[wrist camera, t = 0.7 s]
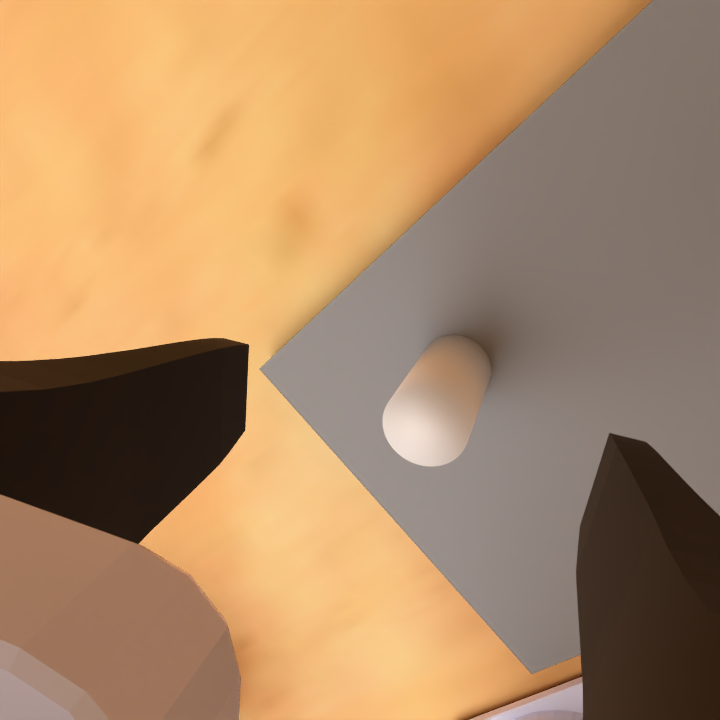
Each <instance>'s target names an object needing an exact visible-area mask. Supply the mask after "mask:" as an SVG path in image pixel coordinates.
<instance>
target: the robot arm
mask: <svg viewBox="0 0 720 720" xmlns="http://www.w3.org/2000/svg"><path fill="white" fill-rule="evenodd" d="M248 353H249V345H248V344H244V343H240V342H236V341H232V340H228V339H224V338H209V339H199V340H191V341H184V342H177V343H171V344H165V345H159V346H153V347H146V348H140V349H134V350H127V351H120V352H113V353H106V354H98V355H91V356H84V357H74V358H63V359H50V360H34V361H0V720H239V702H240V682H241V677H240V673H239V669H238V665H237V661H236V657H235V653H234V649H233V645H232V641H231V637H230V633H229V629H228V626H227V623H226V620H225V618H224V617H223V616H222V614H221V613H220V612H219V611H218V609H217V608H216V607H215V606H214V604H213V603H212V602H211V601H210V599H209V598H208V597H207V596H206V594H205V593H204V592H203V590H202V589H201V588H200V587H199V585H198V584H197V583H196V582H195V580H194V579H193V578H192V577H191V575H190V574H188V573H187V572H185V571H183V570H182V569H180V568H178V567H177V566H175V565H173V564H172V563H170V562H169V561H167V560H165V559H164V558H162V557H160V556H159V555H157V554H155V553H154V552H152V551H150V550H149V549H147V548H145V547H144V546H142V545H139V543H140V542H141V541H142V540H143V539H144V537H145V536H146V535H147V534H148V533H149V532H150V531H151V530H152V529H153V528H154V527H155V526H156V525H158V524H159V523H160V522H161V521H162V520H163V519H164V518H165V517H166V516H167V515H168V514H169V513H170V512H171V511H172V510H173V509H174V508H175V507H176V506H177V505H178V504H179V503H180V502H181V501H183V500H184V499H185V498H186V497H187V496H188V495H189V494H190V493H191V492H192V491H193V490H194V489H195V488H196V487H197V486H198V485H199V484H200V483H201V482H202V481H203V480H204V479H205V478H206V477H207V476H208V475H209V474H210V473H211V472H212V471H213V470H214V469H215V468H216V467H217V466H218V465H219V464H220V463H221V462H222V461H223V459H224V458H225V457H226V456H227V454H228V453H229V452H230V450H231V449H232V448H233V446H234V445H235V444H236V442H237V441H238V439H239V438H240V437H241V435H242V434H243V432H244V431H245V422H246V399H247V376H248ZM576 585H577V602H578V619H579V635H580V650H581V666H582V677H580V678H577V679H574V680H572V681H569V682H566V683H564V684H561V685H559V686H556V687H553V688H551V689H548V690H545V691H543V692H540V693H538V694H535V695H532V696H530V697H527V698H524V699H522V700H519V701H516V702H514V703H511V704H509V705H506V706H503V707H501V708H498V709H495V710H493V711H490V712H488V713H485V714H482V715H480V716H477V717H474V718H472V719H469V720H720V516H719V515H718V514H717V513H716V512H715V511H714V510H713V509H712V508H711V507H710V506H709V505H708V504H707V503H706V502H705V501H704V500H703V499H702V498H701V497H700V496H699V495H698V494H697V493H696V492H695V491H694V490H693V489H692V488H691V487H690V486H689V485H688V484H687V483H686V482H685V481H684V480H683V479H682V478H681V477H680V475H679V474H678V473H677V472H676V471H675V470H674V469H673V468H672V467H671V466H670V465H669V464H668V463H667V462H666V461H665V460H664V459H663V457H662V456H661V455H660V454H659V453H658V452H657V451H656V450H655V449H654V448H653V447H652V446H650V445H649V444H648V443H647V442H645V441H641V440H637V439H633V438H628V437H624V436H620V435H616V434H612V433H609V435H608V438H607V442H606V445H605V448H604V451H603V454H602V457H601V461H600V464H599V467H598V470H597V473H596V477H595V480H594V483H593V486H592V489H591V492H590V496H589V499H588V502H587V505H586V508H585V511H584V515H583V518H582V521H581V524H580V530H579V541H578V552H577V565H576Z"/></svg>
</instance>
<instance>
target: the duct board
mask: <svg viewBox="0 0 720 720" xmlns="http://www.w3.org/2000/svg"><path fill="white" fill-rule="evenodd" d="M260 370H261V371H262V373H263V374H264V375H265V376H266V377H267V378H268V379H269V380H270V381H271V383H272V384H273V385H274V386H275V387H276V388H277V389H278V390H279V392H280V393H281V394H282V395H283V396H284V397H285V398H286V399H287V401H288V402H289V403H290V404H291V405H292V406H293V407H294V408H295V409H296V411H297V412H298V413H299V414H300V415H301V416H302V417H303V418H304V420H305V421H306V422H307V423H308V424H309V425H310V426H311V427H312V429H313V430H314V431H315V432H316V433H317V434H318V435H319V436H320V437H321V439H322V440H323V441H324V442H325V443H326V444H327V445H328V446H329V448H330V449H331V450H332V451H333V452H334V453H335V454H336V455H337V457H338V458H339V459H340V460H341V461H342V462H343V463H344V464H345V466H346V467H347V468H348V469H349V470H350V471H351V472H352V473H353V474H354V476H355V477H356V478H357V479H358V480H359V481H360V482H361V483H362V485H363V486H364V487H365V488H366V489H367V490H368V491H369V492H370V494H371V495H372V496H373V497H374V498H375V499H376V500H377V501H378V502H379V504H380V505H381V506H382V507H383V508H384V509H385V510H386V511H387V513H388V514H389V515H390V516H391V517H392V518H393V519H394V520H395V522H396V523H397V524H398V525H399V526H400V527H401V528H402V529H403V530H404V532H405V533H406V534H407V535H408V536H409V537H410V538H411V539H412V541H413V542H414V543H415V544H416V545H417V546H418V547H419V548H420V550H421V551H422V552H423V553H424V554H425V555H426V556H427V557H428V559H429V560H430V561H431V562H432V563H433V564H434V565H435V566H436V567H437V569H438V570H439V571H440V572H441V573H442V574H443V575H444V576H445V578H446V579H447V580H448V581H449V582H450V583H451V584H452V585H453V587H454V588H455V589H456V590H457V591H458V592H459V593H460V594H461V595H462V597H463V598H464V599H465V600H466V601H467V602H468V603H469V604H470V606H471V607H472V608H473V609H474V610H475V611H476V612H477V613H478V615H479V616H480V617H481V618H482V619H483V620H484V621H485V622H486V623H487V625H488V626H489V627H490V628H491V629H492V630H493V631H494V632H495V634H496V635H497V636H498V637H499V638H500V639H501V640H502V641H503V643H504V644H505V645H506V646H507V647H508V648H509V649H510V650H511V652H512V653H513V654H514V655H515V656H516V657H517V658H518V659H519V660H520V662H521V663H522V664H523V665H524V666H525V667H526V668H527V669H528V671H529V672H530V673H531V674H533V673H536V672H538V671H541V670H543V669H546V668H548V667H551V666H553V665H556V664H558V663H561V662H563V661H566V660H568V659H571V658H573V657H576V656H578V655H581V650H580V635H579V619H578V602H577V585H576V565H577V552H578V541H579V530H580V524H581V521H582V518H583V515H584V511H585V508H586V505H587V502H588V499H589V496H590V492H591V489H592V486H593V483H594V480H595V477H596V473H597V470H598V467H599V464H600V461H601V457H602V454H603V451H604V448H605V445H606V442H607V438H608V435H609V433H612V434H616V435H620V436H624V437H628V438H633V439H637V440H641V441H645V442H647V443H648V444H649V445H650V446H652V447H653V448H654V449H655V450H656V451H657V452H658V453H659V454H660V455H661V456H662V457H663V459H664V460H665V461H666V462H667V463H668V464H669V465H670V466H671V467H672V468H673V469H674V470H675V471H676V472H677V473H678V474H679V475H680V477H681V478H682V479H683V480H684V481H685V482H686V483H687V484H688V485H689V486H690V487H691V488H692V489H693V490H694V491H695V492H696V493H697V494H698V495H699V496H700V497H701V498H702V499H703V500H704V501H705V502H706V503H707V504H708V505H709V506H710V507H711V508H712V509H713V510H714V511H715V512H716V513H717V514H718V515H719V516H720V0H653V1H651V2H650V3H649V4H648V5H647V6H646V7H645V8H644V9H643V10H642V11H641V12H640V13H639V14H638V15H637V16H635V17H634V18H633V19H632V20H631V21H630V22H629V23H628V24H627V25H626V26H625V27H624V28H623V29H622V30H621V31H619V32H618V33H617V34H616V35H615V36H614V37H613V38H612V39H611V40H610V41H609V42H608V43H607V44H606V45H605V46H603V47H602V48H601V49H600V50H599V51H598V52H597V53H596V54H595V55H594V56H593V57H592V58H591V59H590V60H589V61H587V62H586V63H585V64H584V65H583V66H582V67H581V68H580V69H579V70H578V71H577V72H576V73H575V74H574V75H573V76H571V77H570V78H569V79H568V80H567V81H566V82H565V83H564V84H563V85H562V86H561V87H560V88H559V89H558V90H557V91H555V92H554V93H553V94H552V95H551V96H550V97H549V98H548V99H547V100H546V101H545V102H544V103H543V104H542V105H540V106H539V107H538V108H537V109H536V110H535V111H534V112H533V113H532V114H531V115H530V116H529V117H528V118H527V119H526V120H524V121H523V122H522V123H521V124H520V125H519V126H518V127H517V128H516V129H515V130H514V131H513V132H512V133H511V134H510V135H508V136H507V137H506V138H505V139H504V140H503V141H502V142H501V143H500V144H499V145H498V146H497V147H496V148H495V149H494V150H492V151H491V152H490V153H489V154H488V155H487V156H486V157H485V158H484V159H483V160H482V161H481V162H480V163H479V164H478V165H476V166H475V167H474V168H473V169H472V170H471V171H470V172H469V173H468V174H467V175H466V176H465V177H464V178H463V179H462V180H460V181H459V182H458V183H457V184H456V185H455V186H454V187H453V188H452V189H451V190H450V191H449V192H448V193H447V194H446V195H444V196H443V197H442V198H441V199H440V200H439V201H438V202H437V203H436V204H435V205H434V206H433V207H432V208H431V209H430V210H428V211H427V212H426V213H425V214H424V215H423V216H422V217H421V218H420V219H419V220H418V221H417V222H416V223H415V224H414V225H412V226H411V227H410V228H409V229H408V230H407V231H406V232H405V233H404V234H403V235H402V236H401V237H400V238H399V239H398V240H396V241H395V242H394V243H393V244H392V245H391V246H390V247H389V248H388V249H387V250H386V251H385V252H384V253H383V254H382V255H380V256H379V257H378V258H377V259H376V260H375V261H374V262H373V263H372V264H371V265H370V266H369V267H368V268H367V269H366V270H364V271H363V272H362V273H361V274H360V275H359V276H358V277H357V278H356V279H355V280H354V281H353V282H352V283H351V284H350V285H348V286H347V287H346V288H345V289H344V290H343V291H342V292H341V293H340V294H339V295H338V296H337V297H336V298H335V299H334V300H332V301H331V302H330V303H329V304H328V305H327V306H326V307H325V308H324V309H323V310H322V311H321V312H320V313H319V314H317V315H316V316H315V317H314V318H313V319H312V320H311V321H310V322H309V323H308V324H307V325H306V326H305V327H304V328H303V329H301V330H300V331H299V332H298V333H297V334H296V335H295V336H294V337H293V338H292V339H291V340H290V341H289V342H288V343H287V344H285V345H284V346H283V347H282V348H281V349H280V350H279V351H278V352H277V353H276V354H275V355H274V356H273V357H272V358H271V359H269V360H268V361H267V362H266V363H265V364H264V365H263V366H262V367H261V368H260Z"/></svg>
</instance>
